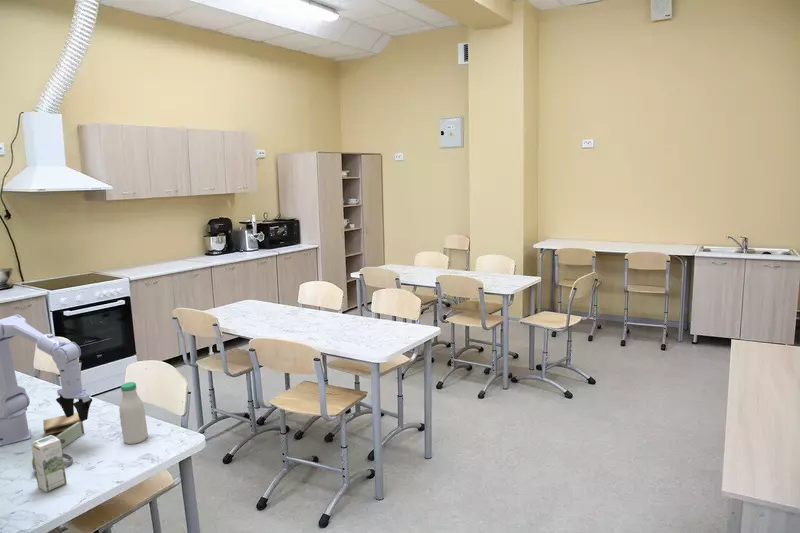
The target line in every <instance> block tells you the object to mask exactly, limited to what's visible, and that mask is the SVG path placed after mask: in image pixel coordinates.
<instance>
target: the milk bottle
mask: <svg viewBox="0 0 800 533" xmlns="http://www.w3.org/2000/svg"><path fill="white" fill-rule="evenodd" d="M120 390H121V393H122V398H121V400H120V404H119V420H120V427H121V434H122V440H123V443H125V444H127V445H134V444H140V443H141V442H143V441H145V440H147V438H148V427H147V426H148V425H147V419H146V412H145V406H144V403H143V400H142V399H141V397H140V395H139V394H138V393H137V384H136V382H134V381H129V382H125V383H122V384H121V385H120Z"/></svg>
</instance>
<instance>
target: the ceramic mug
mask: <svg viewBox="0 0 800 533" xmlns="http://www.w3.org/2000/svg"><path fill="white" fill-rule="evenodd" d="M61 449H62V450H63V448H61ZM62 455H63V459H66V460H68V461H63V462H64V467H68V466H71V465H72V464H73V460H74V457H73V456H72V455H71V454H69V453H65V452H62ZM31 465H32V468H33V469H34V471H35V465H34V459H33V458H32V460H31Z"/></svg>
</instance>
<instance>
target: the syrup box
mask: <svg viewBox="0 0 800 533" xmlns="http://www.w3.org/2000/svg"><path fill="white" fill-rule="evenodd" d="M30 445H31V452H32V459H34V465H35V470H34V471H35V478H36V482H37V487H38V488H40V489H41V490H43V491H44V492H46V493H49V492H50V491H53V490H55V489H57V488H59V487H61V486H64V485H66V484H67V476H66V471H65V466H64V462H65V461H64V458H63V455H62V453H63V448H62V449H61V442H60V440H59V439H58V438H56V437H54V436H52V435H50V436H47V437H45V436H44V437H42V438H39V439H37V440H34V441H32V442H30Z"/></svg>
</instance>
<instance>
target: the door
mask: <svg viewBox="0 0 800 533" xmlns="http://www.w3.org/2000/svg"><path fill="white" fill-rule="evenodd" d="M82 435H83V434H82V430H81V423H80V422H77V423H76V424H74V425H73V426H71V427H69V428H68V429H66V430H65V431H63V432H62V433H60V434H59V435H57V436H56V437H57V438H58V439H59V440H60V442H61V448H62V449H63V448H65V447H66V446H67V445H69V444H70V443H72V442H73V441H75V440H77V439H78V438H79V437H81V436H82Z"/></svg>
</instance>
